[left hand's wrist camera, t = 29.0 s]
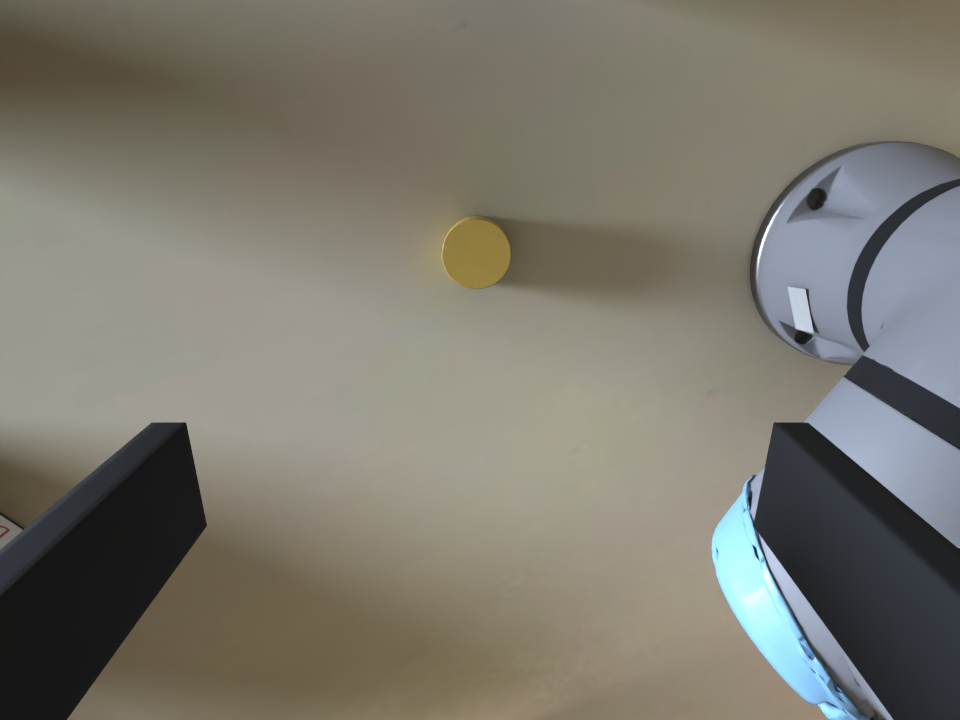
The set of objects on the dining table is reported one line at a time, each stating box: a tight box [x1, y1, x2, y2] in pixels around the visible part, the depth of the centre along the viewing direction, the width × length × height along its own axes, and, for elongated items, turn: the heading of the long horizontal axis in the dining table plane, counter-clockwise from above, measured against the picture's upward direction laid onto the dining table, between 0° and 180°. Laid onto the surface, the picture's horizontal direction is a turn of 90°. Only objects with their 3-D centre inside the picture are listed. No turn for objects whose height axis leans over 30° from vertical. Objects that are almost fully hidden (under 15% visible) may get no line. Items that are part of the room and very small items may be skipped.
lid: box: [442, 216, 511, 289], centre depth 40 cm, size 5×5×2 cm
